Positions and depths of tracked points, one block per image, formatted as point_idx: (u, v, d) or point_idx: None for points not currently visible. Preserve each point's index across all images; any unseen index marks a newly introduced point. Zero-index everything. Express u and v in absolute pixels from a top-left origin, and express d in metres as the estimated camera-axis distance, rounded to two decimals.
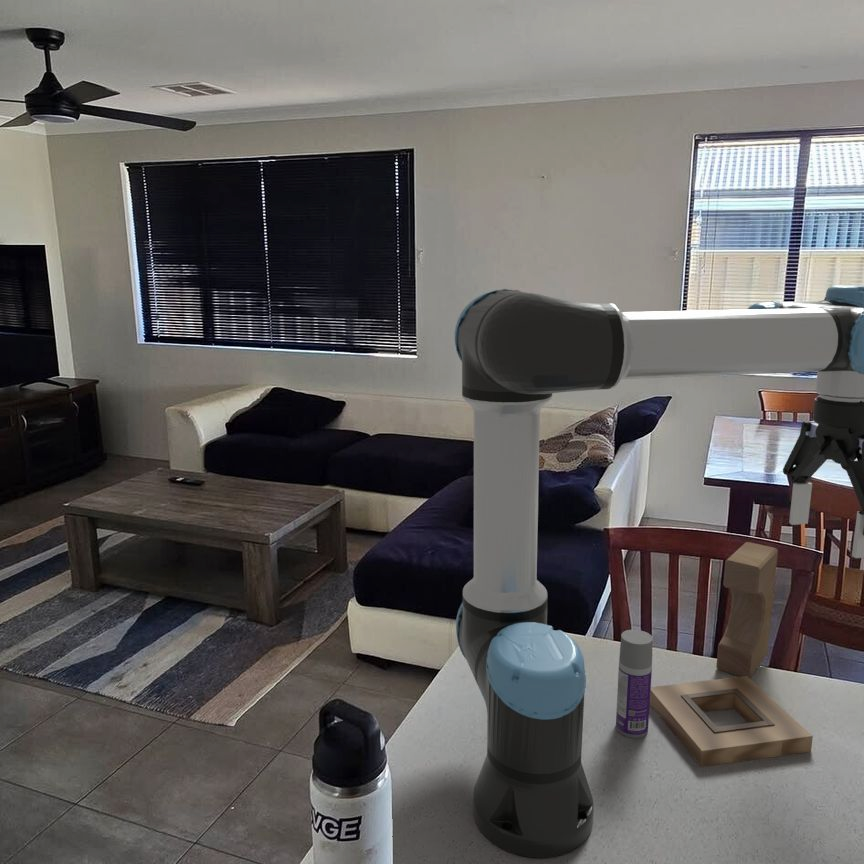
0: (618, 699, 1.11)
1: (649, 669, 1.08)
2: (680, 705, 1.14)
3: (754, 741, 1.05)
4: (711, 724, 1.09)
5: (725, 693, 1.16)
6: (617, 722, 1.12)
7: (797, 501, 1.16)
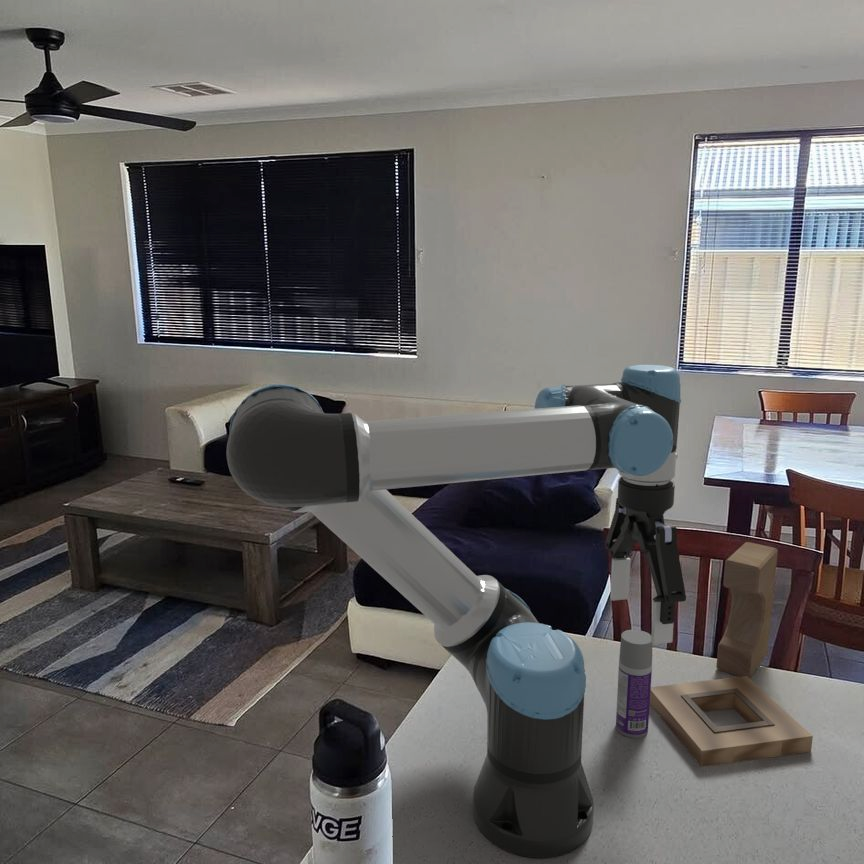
0: (618, 699, 1.11)
1: (649, 669, 1.08)
2: (680, 705, 1.14)
3: (754, 741, 1.05)
4: (711, 724, 1.09)
5: (725, 693, 1.16)
6: (617, 722, 1.12)
7: (616, 577, 1.14)
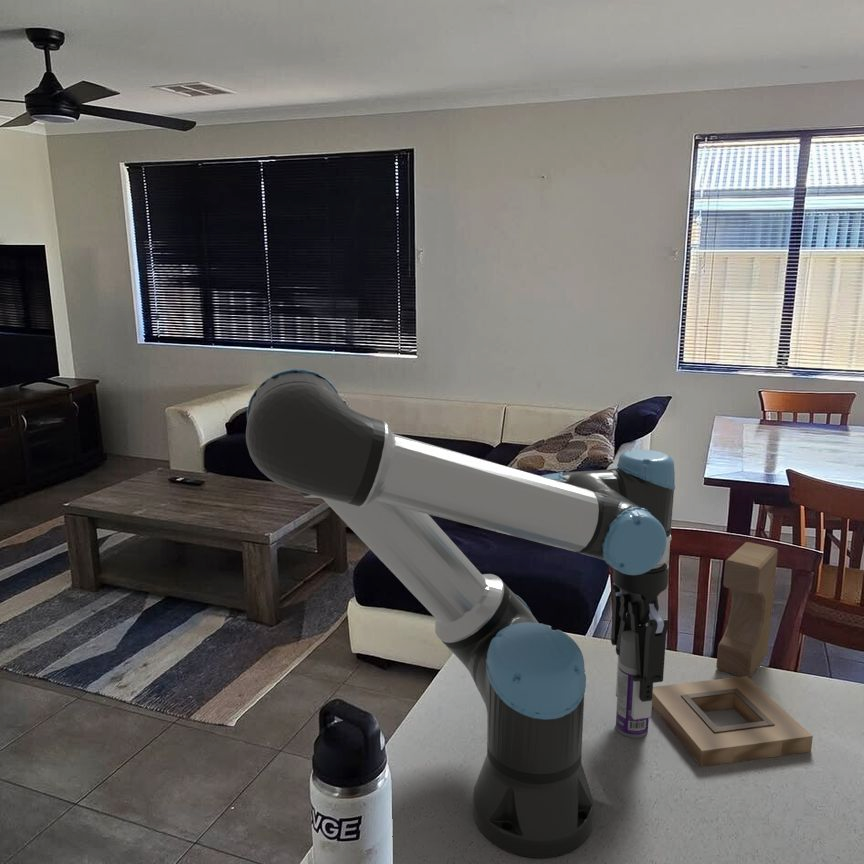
0: (618, 699, 1.11)
1: None
2: (680, 705, 1.14)
3: (754, 741, 1.05)
4: (711, 724, 1.09)
5: (725, 693, 1.16)
6: (617, 722, 1.12)
7: None
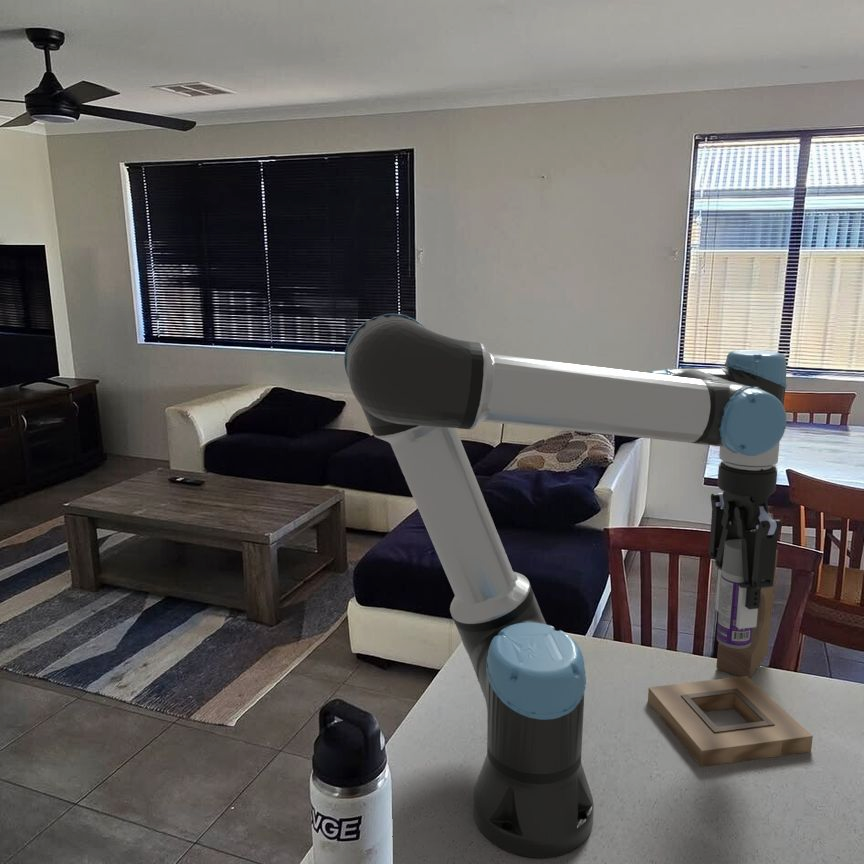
0: (721, 609, 1.08)
1: None
2: (680, 705, 1.14)
3: (754, 741, 1.05)
4: (711, 724, 1.09)
5: (725, 693, 1.16)
6: (719, 634, 1.09)
7: None
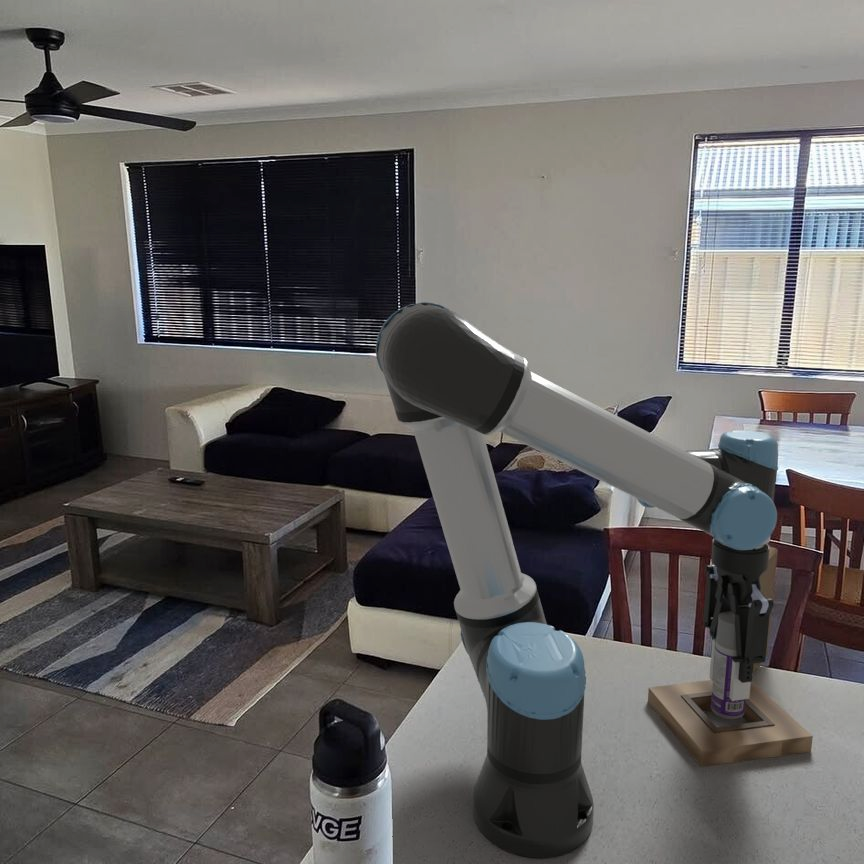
0: (715, 680, 1.11)
1: None
2: (680, 705, 1.14)
3: (754, 741, 1.05)
4: (711, 724, 1.09)
5: None
6: (713, 704, 1.12)
7: None
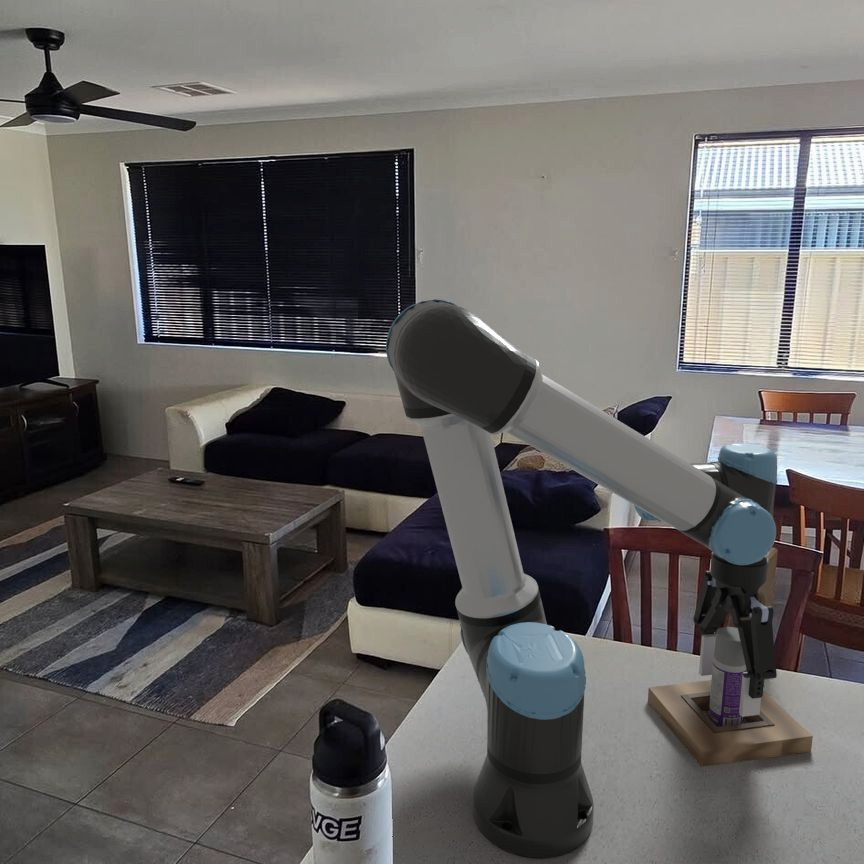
0: (712, 696, 1.11)
1: (745, 666, 1.09)
2: (680, 705, 1.14)
3: (754, 741, 1.05)
4: (711, 724, 1.09)
5: None
6: (710, 719, 1.12)
7: (706, 653, 1.15)
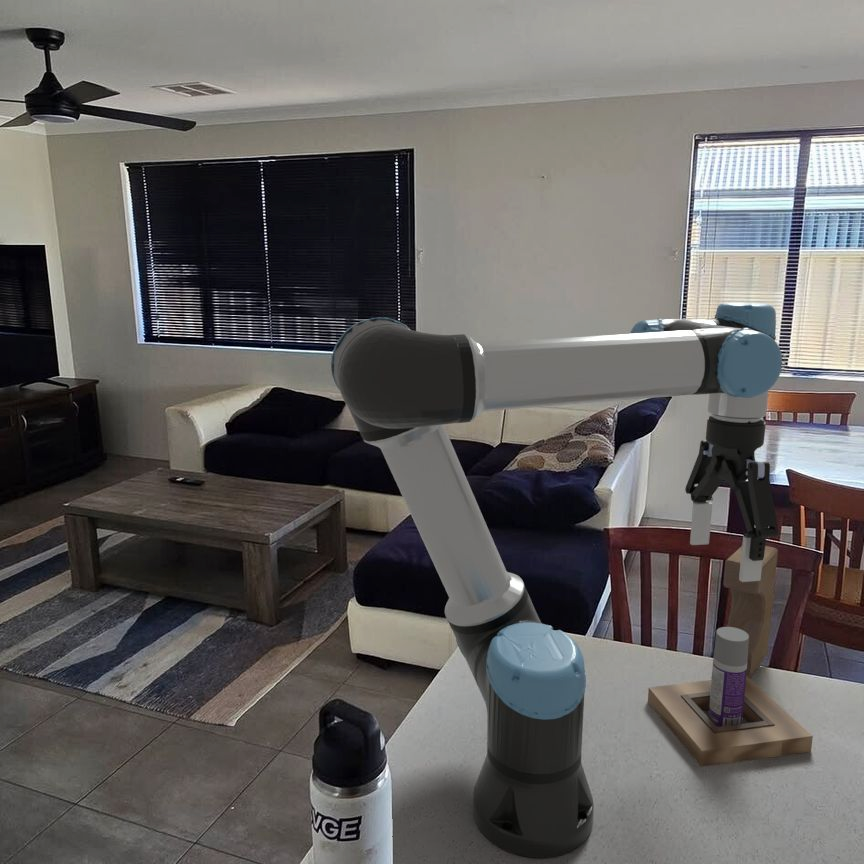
0: (712, 696, 1.11)
1: (745, 666, 1.09)
2: (680, 705, 1.14)
3: (754, 741, 1.05)
4: (711, 724, 1.09)
5: None
6: (710, 719, 1.12)
7: (697, 521, 1.13)
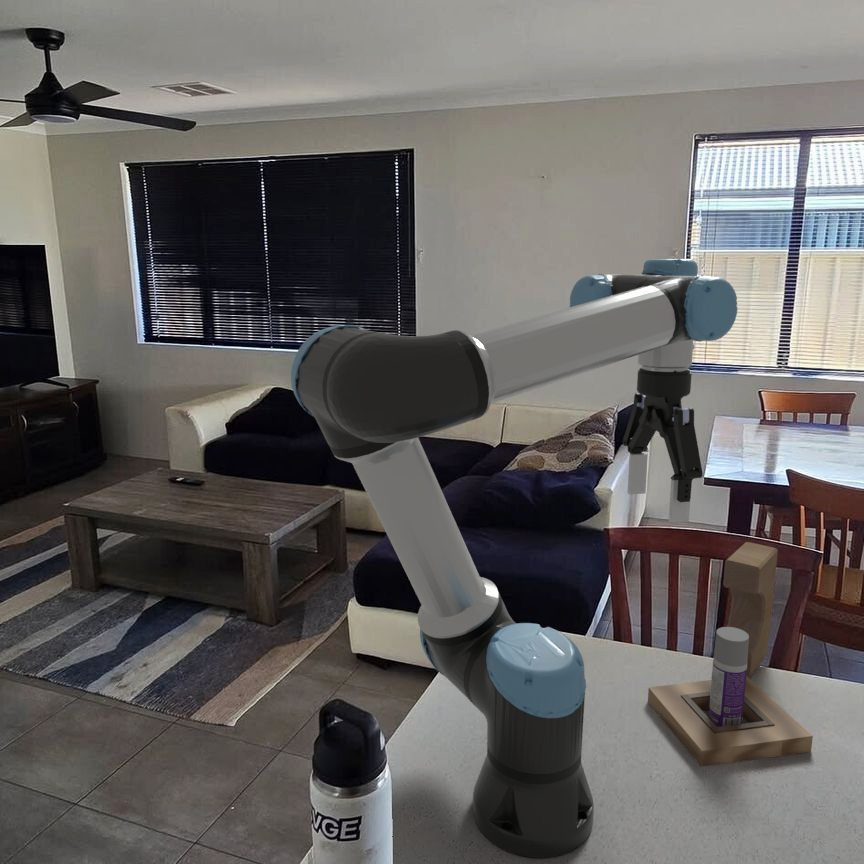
0: (712, 696, 1.11)
1: (745, 666, 1.09)
2: (680, 705, 1.14)
3: (754, 741, 1.05)
4: (711, 724, 1.09)
5: None
6: (710, 719, 1.12)
7: (633, 471, 1.19)
